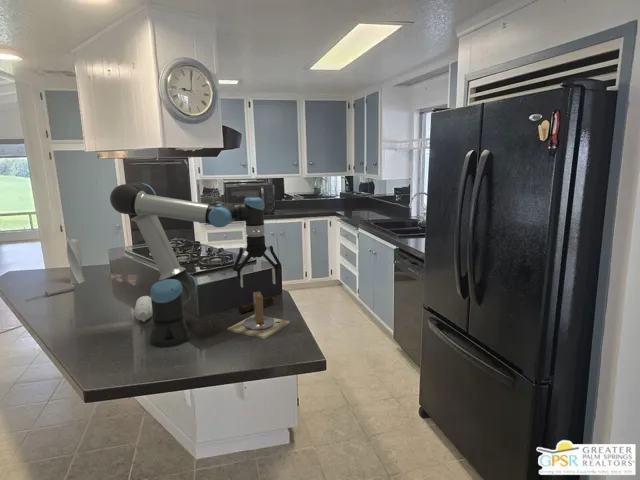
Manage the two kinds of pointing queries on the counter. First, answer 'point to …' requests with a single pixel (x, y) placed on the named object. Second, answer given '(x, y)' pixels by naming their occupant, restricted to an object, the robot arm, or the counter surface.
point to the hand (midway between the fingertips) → (258, 284)
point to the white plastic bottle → (143, 308)
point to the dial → (258, 315)
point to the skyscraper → (75, 261)
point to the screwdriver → (58, 290)
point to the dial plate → (258, 333)
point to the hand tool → (244, 308)
